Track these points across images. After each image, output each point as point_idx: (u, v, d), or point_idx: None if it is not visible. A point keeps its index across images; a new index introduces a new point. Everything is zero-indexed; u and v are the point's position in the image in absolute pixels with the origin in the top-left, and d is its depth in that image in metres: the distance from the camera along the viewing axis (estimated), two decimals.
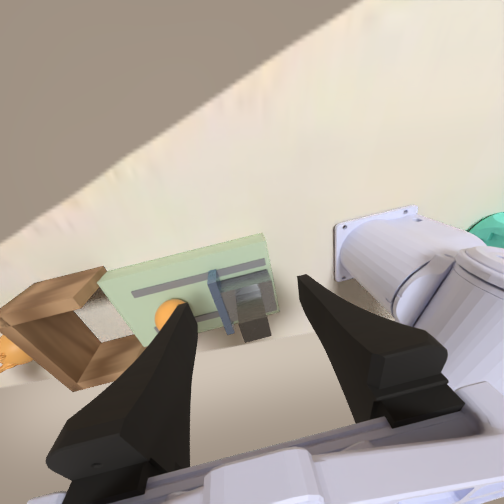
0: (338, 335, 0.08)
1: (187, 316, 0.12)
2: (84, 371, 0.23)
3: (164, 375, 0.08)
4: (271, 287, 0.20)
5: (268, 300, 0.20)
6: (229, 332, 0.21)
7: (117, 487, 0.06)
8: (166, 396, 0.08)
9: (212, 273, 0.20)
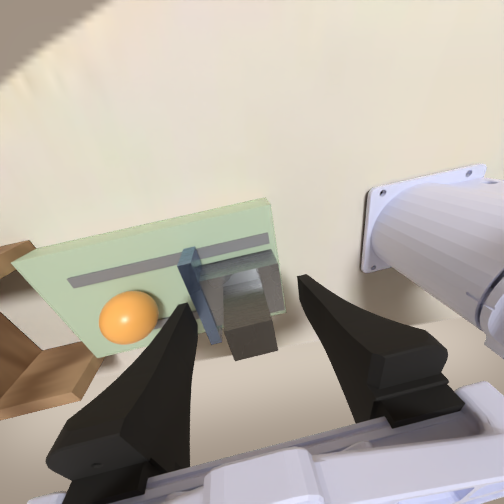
0: (338, 335, 0.08)
1: (187, 316, 0.12)
2: (5, 393, 0.16)
3: (164, 375, 0.08)
4: (277, 275, 0.13)
5: (273, 294, 0.14)
6: (213, 341, 0.15)
7: (117, 487, 0.06)
8: (166, 396, 0.08)
9: (188, 252, 0.13)
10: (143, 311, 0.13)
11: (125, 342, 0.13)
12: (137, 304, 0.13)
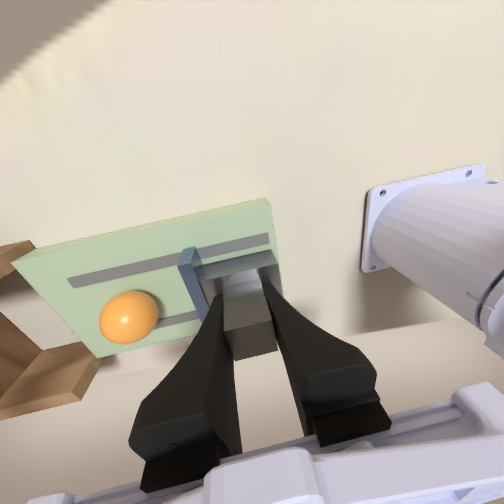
0: (284, 348, 0.08)
1: None
2: (5, 393, 0.16)
3: (219, 361, 0.08)
4: (277, 275, 0.13)
5: None
6: None
7: (194, 467, 0.06)
8: (222, 382, 0.08)
9: (188, 252, 0.13)
10: (143, 311, 0.13)
11: (125, 342, 0.13)
12: (137, 304, 0.13)
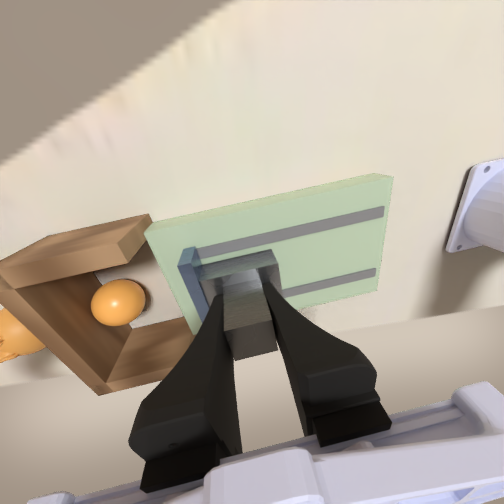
0: (285, 348, 0.08)
1: None
2: (114, 366, 0.16)
3: (219, 361, 0.08)
4: (277, 274, 0.13)
5: None
6: None
7: (194, 467, 0.06)
8: (222, 382, 0.08)
9: (189, 252, 0.13)
10: (133, 294, 0.15)
11: (118, 322, 0.14)
12: (127, 288, 0.15)
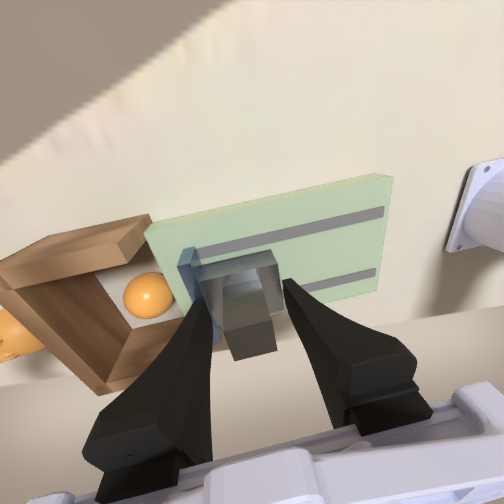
0: (315, 341, 0.08)
1: (204, 312, 0.12)
2: (114, 367, 0.16)
3: (188, 369, 0.08)
4: (277, 275, 0.13)
5: (272, 294, 0.14)
6: (213, 341, 0.15)
7: (151, 478, 0.06)
8: (191, 390, 0.08)
9: (188, 252, 0.13)
10: None
11: (173, 296, 0.16)
12: None
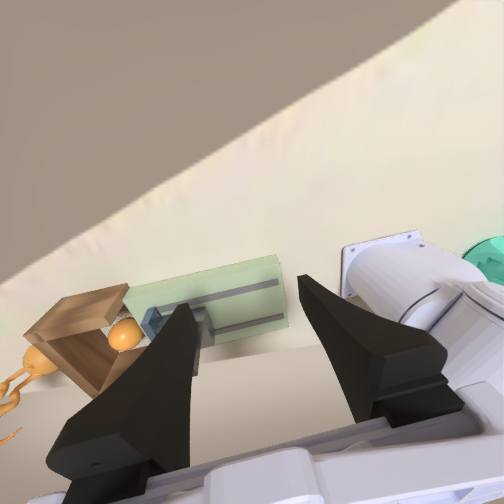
0: (338, 335, 0.08)
1: (187, 316, 0.12)
2: (105, 381, 0.24)
3: (164, 375, 0.08)
4: (205, 326, 0.21)
5: (204, 336, 0.22)
6: None
7: (117, 487, 0.06)
8: (166, 396, 0.08)
9: (149, 312, 0.21)
10: (135, 320, 0.24)
11: (141, 336, 0.24)
12: (130, 319, 0.24)
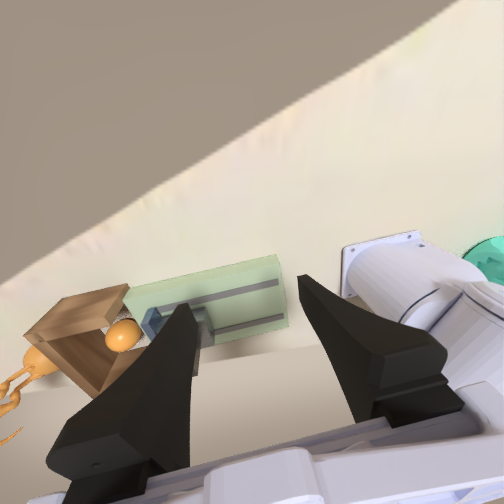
0: (338, 335, 0.08)
1: (187, 316, 0.12)
2: (105, 381, 0.24)
3: (164, 375, 0.08)
4: (205, 326, 0.21)
5: (204, 336, 0.22)
6: None
7: (117, 487, 0.06)
8: (166, 396, 0.08)
9: (149, 312, 0.21)
10: (134, 321, 0.24)
11: (137, 339, 0.23)
12: (129, 320, 0.24)
